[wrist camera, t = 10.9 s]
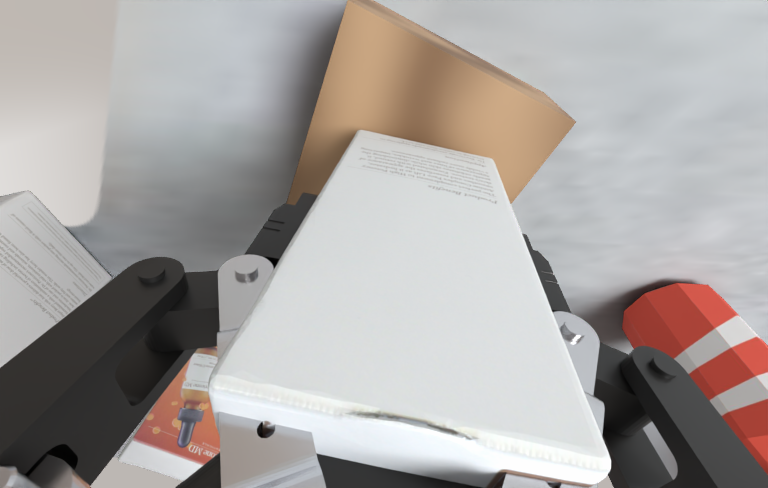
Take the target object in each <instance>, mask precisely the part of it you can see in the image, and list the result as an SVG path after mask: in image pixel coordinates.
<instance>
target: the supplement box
mask: <svg viewBox="0 0 768 488" xmlns="http://www.w3.org/2000/svg"><path fill="white" fill-rule="evenodd" d="M111 279H112V277H111V276H110V275H109V274H108V273H107V271H106V270H105V269H104V268H103V267H102V266H101V265H100V264H99V263H98V262H97V261H96V260H95V259H94V258H93V257H92V256H91V255H90V253H89V252H88V251H87V250H86V249H85V248H84V247H83V246H82V245H81V244H80V243H79V242H78V241H77V240H76V239H75V238H74V237H73V235H72V234H71V233H70V232H69V231H68V230H67V229H66V228H65V227H64V226H63V225H62V224H61V223H60V222H59V221H58V220H57V219H56V217H55V216H54V215H53V214H52V213H51V212H50V211H49V210H48V209H47V208H46V207H45V206H44V205H43V204H42V203H41V202H40V201H39V199H38V198H37V197H36V196H35V195H34V194H33V193H32V192H31V191H23V192H18V193H13V194H9V195H5V196H0V367H2V366H3V365H4V364H6V363H7V362H8V361H9V360H11V359H12V358H13V357H14V356H16V355H17V354H18V353H20V352H21V351H22V350H23V349H25V348H26V347H27V346H29V345H30V344H31V343H32V342H34V341H35V340H36V339H37V338H39V337H40V336H41V335H43V334H44V333H45V332H46V331H48V330H49V329H50V328H51V327H53V326H54V325H55V324H57V323H58V322H59V321H60V320H62V319H63V318H64V317H65V316H67V315H68V314H69V313H71V312H72V311H73V310H74V309H76V308H77V307H78V306H80V305H81V304H82V303H83V302H85V301H86V300H87V299H88V298H90V297H91V296H92V295H94V294H95V293H96V292H97V291H99V290H100V289H101V288H102V287H104V286H105V285H106V284H107V283H108V282H109V281H111Z"/></svg>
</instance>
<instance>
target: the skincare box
mask: <svg viewBox="0 0 768 488" xmlns="http://www.w3.org/2000/svg"><path fill="white" fill-rule="evenodd" d="M208 394H209V398H210V402H211V406H212V411H213V415H214V418H215V423H216V427H217V430H218V433H219V436H220V429H219V411H220V412H224V413H228V414H232V415H236V416H241V417H246V418H250V419H255V420H259V421H263V430H262V434H263V438H268V437H270V436H271V435H272V434H273V433H274V431H275V424H276V425H281V426H286V427H290V428H295V429H299V430H304V431H308V432H312V436H313V440H314V445H315V450H316V453H317V454H321V455H326V456H331V457H335V458H340V459H344V460H349V461H354V462H358V463H363V464H368V465H372V466H377V467H382V468H387V469H392V470H397V471H402V472H407V473H412V474H417V475H422V476H427V477H432V478H437V479H442V480H447V481H452V482H457V483H462V484H467V485H472V486H477V487H482V488H494V486H495V485H496V484H497V483H498V481H499V480H500V479H501V478H502V477H503V476H504V475H505V474H506V472H508V473H514V474H519V475H525V476H530V477H536V478H541V479H545V481H546V483H547V484H548V485H549V486H550V487H552V488H555V487H556V486H557V485H558V484H560V483H561V482H564V483H570V484H576V485H583V486H593V485H595V484H596V483H598V482H599V481H601V480H603V479H604V478H606V476H607V475H608V473H609V472H610V470H611V459H610V456H609V453H608V450H607V447H606V445H605V443H604V440H603V438H602V435H601V433H600V430H599V428H598V425H597V423H596V420H595V418H594V415H593V413H592V411H591V408H590V406H589V403H588V401H587V398H586V396H585V393H584V391H583V388H582V386H581V383H580V381H579V378H578V375H577V373H576V370H575V368H574V365H573V363H572V360H571V358H570V355H569V352H568V350H567V347H566V345H565V342H564V340H563V337H562V335H561V332H560V330H559V327H558V325H557V322H556V320H555V317H554V315H553V312H552V310H551V307H550V305H549V302H548V299H547V297H546V294H545V292H544V289H543V286H542V284H541V281H540V279H539V276H538V273H537V271H536V268H535V266H534V263H533V261H532V258H531V255H530V253H529V250H528V248H527V245H526V242H525V240H524V237H523V235H522V232H521V229H520V227H519V224H518V222H517V219H516V216H515V214H514V212H513V209H512V206H511V204H510V201H509V199H508V196H507V194H506V191H505V189H504V186H503V183H502V181H501V178H500V175H499V173H498V170H497V167H496V164H495V162H494V160H493V159H491V158H488V157H483V156H478V155H473V154H469V153H464V152H460V151H455V150H451V149H446V148H442V147H437V146H433V145H429V144H424V143H420V142H415V141H410V140H406V139H401V138H397V137H392V136H388V135H383V134H379V133H375V132H370V131H365V130H358V131H357V132H356V134H355V136H354V138H353V139H352V141H351V143H350V145H349V146H348V148H347V149H346V151H345V153H344V154H343V156H342V157H341V159H340V161H339V163H338V164H337V166H336V167H335V169H334V171H333V172H332V174H331V176H330V177H329V179H328V181H327V182H326V184H325V186H324V187H323V189H322V191H321V192H320V194H319V195H318V197H317V198H316V200H315V202H314V203H313V205H312V207H311V208H310V210H309V212H308V213H307V215H306V217H305V218H304V220H303V221H302V223H301V225H300V227H299V228H298V230H297V232H296V233H295V235H294V236H293V238H292V240H291V242H290V243H289V245H288V247H287V248H286V250H285V251H284V253H283V255H282V256H281V258H280V260H279V262H278V264H277V265H276V267H275V269H274V270H273V272H272V274H271V275H270V277H269V279H268V280H267V282H266V284H265V286H264V288H263V289H262V291H261V293H260V295H259V297H258V299H257V300H256V302H255V304H254V305H253V307H252V309H251V310H250V312H249V314H248V315H247V317H246V319H245V320H244V322H243V323H242V325H241V326H240V328H239V329H238V331H237V332H236V334H235V336H234V337H233V339H232V340H231V342H230V344H229V345H228V347H227V348H226V350H225V351H224V353H223V354H222V356H221V357H220V359H219V360H218V362H217V364H216V365H215V367H214V369H213V371H212V373H211V375H210V377H209V382H208Z"/></svg>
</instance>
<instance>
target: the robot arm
mask: <svg viewBox="0 0 768 488" xmlns="http://www.w3.org/2000/svg"><path fill="white" fill-rule="evenodd" d="M317 197H318V195H315V194H310V193H305V192H303V193H302V195H301V196H300V198H299V200H298V201H297V203H296V205H291V204H284V205H282V206H281V207H279V208H277V209H276V210H274V211H273V213H272V214H271V216H270V217H269V219H268V221H267V222H266V223H265V225H264V226H263V229H261V231H260V232H259V234H258V235H257V237H256V238H255V240H254V241H253V243H252V244H251V246H250V247H249V249H248V250H247V252H246V253H245V254H244V255H240V256H236V257H234V258H231V259H229V260H227V261H226V262H225V263H224V264H223V265H222V266H221V267H220V269H219V270H217V271H208V272H188V273H185V271H184V267H183V265H182V264H181V263H180V262H179V261H177V260H175V259H172V258H167V257H155V258H149V259H145V260H142V261H139V262H137V263H135V264H133V265H131V266H130V267H128V268H127V269H125V270H124V271H123V272H122V273H120V274H119V275H118V276H117V277H115V278H114V279H113V280H111V281H110V282H109V283H108V284H106V285H105V286H104V287H102V288H101V289H100V290H99V291H97V292H96V293H95V294H94V295H92V296H91V297H90V298H88V299H87V300H86V301H85V302H83V303H82V304H81V305H80V306H78V307H77V308H76V309H74V310H73V311H72V312H71V313H69V314H68V315H67V316H65V317H64V318H63V319H62V320H60V321H59V322H58V323H57V324H55V325H54V326H53V327H51V328H50V329H49V330H48V331H46V332H45V333H44V334H43V335H41V336H40V337H39V338H37V339H36V340H35V341H34V342H32V343H31V344H30V345H29V346H27V347H26V348H25V349H23V350H22V351H21V352H20V353H18V354H17V355H16V356H14V357H13V358H12V359H11V360H9V361H8V362H7V363H6V364H4V365H3V366H2V367H0V488H91V487H90V485H91V484H92V483H93V482H94V480H95V479H96V478H97V476H98V475H99V474H100V473H101V471H102V470H103V469H104V467H105V466H106V465H107V464H108V463H109V461H110V460H111V459H112V457H113V456H114V455H115V454H116V452H117V451H118V450H119V449H120V447H121V446H122V445H123V443H124V442H125V441H126V440H127V438H128V437H129V436H130V435H131V433H132V432H133V431H134V429H135V428H136V427H137V426H138V424H139V423H140V422H141V420H142V419H143V418H144V417H145V415H146V414H147V413H148V412H149V410H150V409H151V408H152V406H153V405H154V404H155V403H156V401H157V400H158V399H159V398H160V396H161V395H162V394H163V392H164V391H165V390H166V389H167V387H168V386H169V385H170V383H171V382H172V381H173V380H174V378H175V377H176V376H177V375H178V373H179V372H180V371H181V369H182V368H183V367H184V366H185V364H186V363H187V362H188V361H189V359H190V358H191V357H192V355H193V354H194V353H195V352H196V350H197V349H199V348H208V347H217V358H218V360H219V359H220V357H221V356H222V354H223V353H224V351H225V350H226V348H227V347H228V345H229V344H230V342H231V340H232V339H233V337H234V336H235V334H236V332H237V331H238V329H239V328H240V326H241V325H242V323H243V322H244V320H245V319H246V317H247V315H248V314H249V312H250V310H251V309H252V307H253V305H254V304H255V302H256V300H257V299H258V297H259V295H260V293H261V291H262V289H263V288H264V286H265V284H266V282H267V280H268V279H269V277H270V275H271V274H272V272H273V270H274V269H275V267H276V265H277V264H278V262H279V260H280V258H281V256H282V255H283V253H284V251H285V250H286V248H287V247H288V245H289V243H290V242H291V240H292V238H293V236H294V235H295V233H296V232H297V230H298V228H299V227H300V225H301V223H302V221H303V220H304V218H305V217H306V215H307V213H308V212H309V210H310V208H311V207H312V205H313V203H314V202H315V200H316V198H317ZM522 235H523V237H524V240H525V242H526V245H527V248H528V250H529V253H530V255H531V258H532V261H533V263H534V266H535V268H536V271H537V273H538V276H539V279H540V281H541V284H542V286H543V289H544V292H545V294H546V297H547V299H548V302H549V305H550V307H551V310H552V312H553V315H554V317H555V320H556V322H557V325H558V327H559V330H560V332H561V335H562V337H563V340H564V342H565V345H566V347H567V350H568V352H569V355H570V358H571V360H572V363H573V365H574V368H575V370H576V373H577V375H578V378H579V381H580V383H581V386H582V388H583V391H584V393H585V396H586V398H587V401H588V403H589V406H590V408H591V411H592V413H593V415H594V418H595V420H596V423H597V425H598V428H599V430H600V433H601V435H602V438H603V440H604V443H605V445H606V447H607V450H608V453H609V456H610V459H611V470H610V472H609V473H608V476H609V478H610V480H611V482H612V485H613V487H614V488H768V475H767V473H766V472H765V471H764V470H763V468H762V467H761V466H760V464H759V463H758V462H757V461H756V459H755V458H754V457H753V456H752V454H751V453H750V452H749V450H748V449H747V448H746V447H745V445H744V444H743V443H742V442H741V440H740V439H739V438H738V436H737V435H736V434H735V433H734V431H733V430H732V429H731V428H730V426H729V425H728V424H727V422H726V421H725V420H724V419H723V417H722V416H721V415H720V414H719V412H718V411H717V410H716V408H715V407H714V406H713V405H712V403H711V402H710V401H709V400H708V398H707V397H706V396H705V394H704V393H703V392H702V391H701V389H700V388H699V387H698V386H697V384H696V383H695V382H694V380H693V379H692V378H691V377H690V375H689V374H688V373H687V372H686V370H685V369H684V368H683V367H682V366H681V365H680V364H679V363H678V362H677V361H676V360H674V359H673V358H672V357H670V356H669V355H667V354H666V353H664V352H662V351H660V350H658V349H655V348H652V347H649V346H638V347H636V348H635V349H634V350H633V351H632V352H631V353H630V354H629V355H628V354H626V353H623V352H621V351H619V350H616V349H614V348H611V347H609V346H607V345H604V344H602V343H600V341H599V337H598V335H597V333H596V332H595V330H594V329H593V328H592V327H591V326H590V325H589V324H588V323H587V322H586V321H584V320H583V319H581V318H580V317H578V316H576V315H574V314H571V312H570V309H569V307H568V305H567V303H566V300H565V298H564V296H563V294H562V291H561V289H560V287H559V285H558V284H557V280H556V278H555V276H554V275H553V271H552V269H551V267H550V265H549V262H548V261H547V260H546V259H545V258H544V257H543V256H542V255H541V254H540V253H539V252H538V251H535V250H533V249H532V246H531V244H530V241H529V239H528V237H527V235H525V234H522ZM219 429H220V452H219V453H218V454H217V455H216V456H214V457H213V458H212V459H211V460H209V461H208V462H207V463H206V464H204V465H203V466H202V467H201V468H199V469H198V470H197V471H196V472H194V473H193V474H192V475H191V476H189V477H188V478H187V479H186V480H184V481H183V482H182V483H181V484H179V485H178V486H177V487H176V488H482V487H477V486H472V485H467V484H462V483H457V482H452V481H447V480H442V479H437V478H432V477H427V476H422V475H417V474H412V473H407V472H402V471H397V470H392V469H387V468H382V467H377V466H372V465H368V464H363V463H358V462H354V461H349V460H344V459H340V458H335V457H331V456H326V455H321V454H317V453H316V450H315V445H314V440H313V436H312V432H308V431H304V430H299V429H295V428H290V427H286V426H281V425H276V424H275V431H274V433H273V434H272V435H271V436H270V437H268V438H263V434H262V430H263V421H259V420H255V419H250V418H246V417H241V416H236V415H232V414H228V413H224V412H220V411H219ZM494 488H552V487H550V486H549V485H548V484H547V483H546V481H545V479H541V478H536V477H530V476H525V475H519V474H514V473H508V472H506V474H505V475H504V476H503V477H502V478H501V479H500V480H499V481H498V483H497V484H496V485H495V486H494ZM555 488H598V483H596V484H595V485H593V486H583V485H576V484H570V483H564V482H561V483H560V484H558V485H557V486H556V487H555Z"/></svg>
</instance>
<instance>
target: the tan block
mask: <svg viewBox="0 0 768 488" xmlns="http://www.w3.org/2000/svg"><path fill="white" fill-rule="evenodd" d="M575 123H576V121H575V120H573V119H572V118H571V117H570V116H569V115H568V114H567V113H566V112H565V111H564V110H562V109H561V108H560V107H559V106H558V105H557V104H556V103H555V102H554V101H553V100H551V99H550V98H549V97H548V96H547V95H546V94H545V93H544V92H542V91H540V90H538V89H536V88H534V87H532V86H531V85H529V84H527V83H525V82H523V81H521V80H519V79H518V78H516V77H514V76H512V75H510V74H508V73H507V72H505V71H503V70H501V69H499V68H497V67H495V66H494V65H492V64H490V63H488V62H486V61H484V60H483V59H481V58H479V57H477V56H475V55H473V54H471V53H470V52H468V51H466V50H464V49H462V48H460V47H458V46H457V45H455V44H453V43H451V42H449V41H447V40H446V39H444V38H442V37H440V36H438V35H436V34H434V33H433V32H431V31H429V30H427V29H425V28H423V27H422V26H420V25H418V24H416V23H414V22H412V21H410V20H409V19H407V18H405V17H403V16H401V15H399V14H397V13H396V12H394V11H392V10H390V9H388V8H386V7H385V6H383V5H381V4H379V3H377V2H375V1H373V0H348V1H347V5H346V8H345V11H344V14H343V18H342V21H341V24H340V28H339V31H338V34H337V38H336V41H335V44H334V48H333V51H332V54H331V57H330V61H329V64H328V67H327V71H326V74H325V77H324V81H323V84H322V87H321V90H320V94H319V97H318V100H317V104H316V107H315V110H314V114H313V117H312V120H311V123H310V127H309V130H308V133H307V137H306V140H305V143H304V147H303V150H302V153H301V157H300V160H299V163H298V166H297V170H296V173H295V176H294V180H293V183H292V186H291V190H290V193H289V196H288V199H287V203H286V204H291V205H296V203H297V201H298V200H299V198H300V196H301V195H302V193H303V192H305V193H310V194H315V195H319V194H320V192H321V191H322V189H323V187H324V186H325V184H326V182H327V181H328V179H329V177H330V176H331V174H332V172H333V171H334V169H335V167H336V166H337V164H338V163H339V161H340V159H341V157H342V156H343V154H344V153H345V151H346V149H347V148H348V146H349V145H350V143H351V141H352V139H353V138H354V136H355V134H356V132H357V131H358V130H365V131H370V132H375V133H379V134H383V135H388V136H392V137H397V138H401V139H406V140H410V141H415V142H420V143H424V144H429V145H433V146H437V147H442V148H446V149H451V150H455V151H460V152H464V153H469V154H473V155H478V156H483V157H488V158H491V159H493V160H494V162H495V164H496V167H497V170H498V173H499V175H500V178H501V181H502V183H503V186H504V189H505V191H506V194H507V196H508V199H509V201H510V204H511V203H512V202H513V201H514V200H515V198H516V197H517V196H518V195H519V193H520V192H521V191H522V190H523V188H524V187H525V186H526V185H527V183H528V182H529V181H530V179H531V178H532V177H533V176H534V174H535V173H536V172H537V171H538V169H539V168H540V167H541V166H542V164H543V163H544V162H545V161H546V159H547V158H548V157H549V156H550V154H551V153H552V152H553V151H554V149H555V148H556V147H557V145H558V144H559V143H560V142H561V140H562V139H563V138H564V137H565V135H566V134H567V133H568V132H569V130H570V129H571V128H572V127H573V125H574V124H575Z"/></svg>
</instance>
